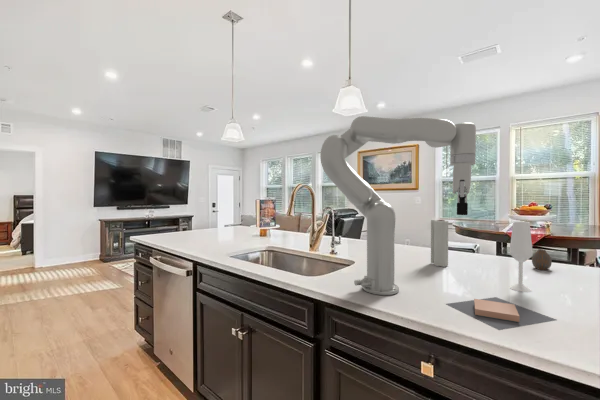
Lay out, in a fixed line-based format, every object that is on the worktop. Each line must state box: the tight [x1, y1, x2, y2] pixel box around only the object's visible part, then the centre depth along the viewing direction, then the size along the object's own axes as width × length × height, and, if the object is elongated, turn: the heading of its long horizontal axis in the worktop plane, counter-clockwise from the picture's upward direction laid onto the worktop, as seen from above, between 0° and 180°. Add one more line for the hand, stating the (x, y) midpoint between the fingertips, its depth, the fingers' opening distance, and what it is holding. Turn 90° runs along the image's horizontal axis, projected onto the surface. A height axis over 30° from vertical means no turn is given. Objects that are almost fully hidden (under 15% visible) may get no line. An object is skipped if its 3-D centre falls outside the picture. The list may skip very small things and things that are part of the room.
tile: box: [473, 298, 519, 322], centre depth 84 cm, size 10×2×9 cm
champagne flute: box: [508, 220, 534, 293], centre depth 106 cm, size 7×7×24 cm
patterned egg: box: [531, 248, 552, 271], centre depth 134 cm, size 7×7×9 cm
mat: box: [445, 296, 557, 331], centre depth 86 cm, size 20×18×1 cm
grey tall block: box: [430, 219, 449, 267], centre depth 141 cm, size 7×6×21 cm
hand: (462, 214), depth 101 cm, fingers closed
